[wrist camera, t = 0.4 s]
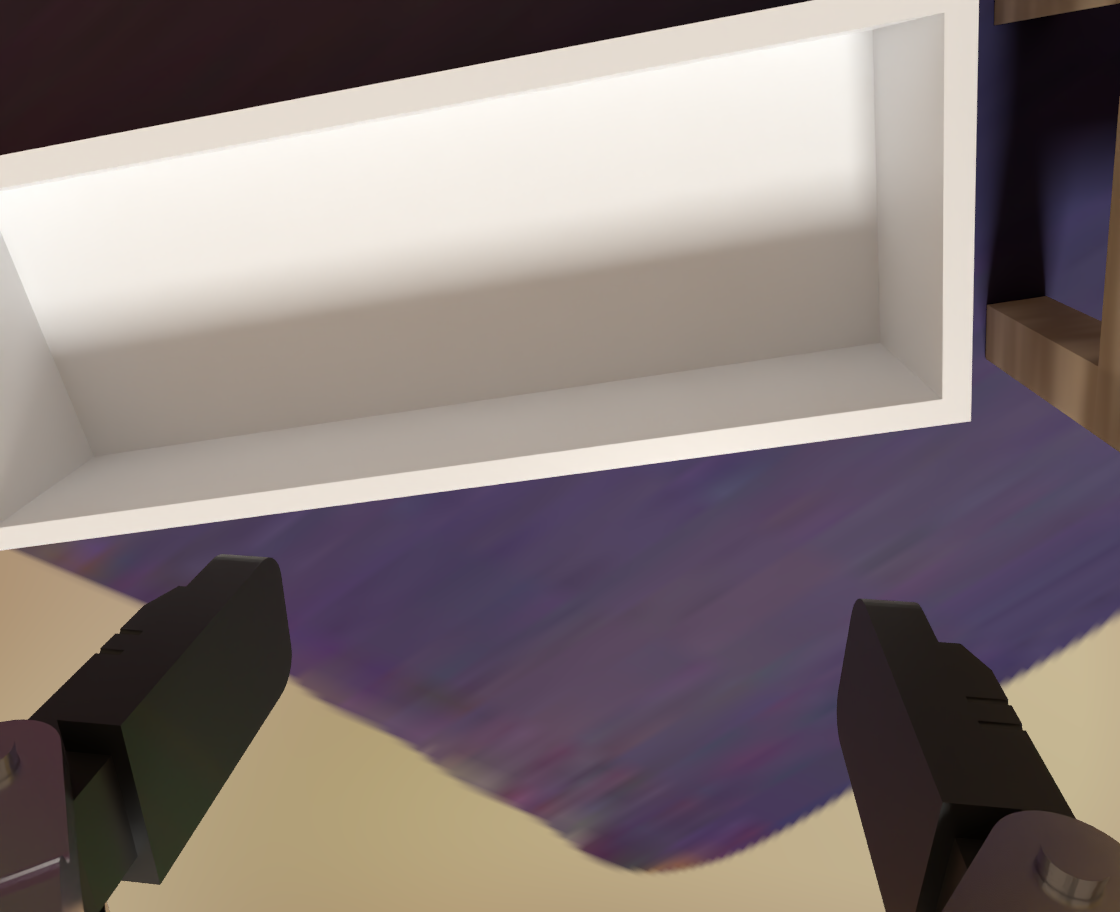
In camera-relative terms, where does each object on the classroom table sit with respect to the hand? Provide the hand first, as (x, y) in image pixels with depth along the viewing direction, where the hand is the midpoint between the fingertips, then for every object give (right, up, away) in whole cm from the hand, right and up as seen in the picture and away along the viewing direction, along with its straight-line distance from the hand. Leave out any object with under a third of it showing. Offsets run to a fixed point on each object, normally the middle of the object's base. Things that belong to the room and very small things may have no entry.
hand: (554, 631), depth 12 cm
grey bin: (-4, +9, +19) cm, 21 cm away
